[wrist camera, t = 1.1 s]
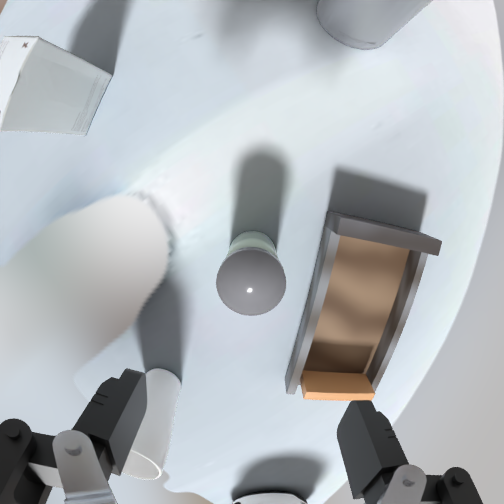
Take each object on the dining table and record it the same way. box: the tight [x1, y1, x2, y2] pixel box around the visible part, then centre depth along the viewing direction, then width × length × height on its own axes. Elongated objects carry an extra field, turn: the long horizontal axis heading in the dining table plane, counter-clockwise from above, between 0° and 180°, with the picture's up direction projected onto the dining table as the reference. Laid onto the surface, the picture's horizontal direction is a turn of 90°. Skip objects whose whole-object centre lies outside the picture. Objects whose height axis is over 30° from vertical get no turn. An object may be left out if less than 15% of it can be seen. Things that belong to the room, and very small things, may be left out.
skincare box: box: [0, 36, 112, 136], centre depth 19 cm, size 8×6×15 cm
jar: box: [216, 231, 286, 316], centre depth 27 cm, size 5×5×9 cm
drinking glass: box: [122, 368, 181, 480], centre depth 29 cm, size 7×7×15 cm
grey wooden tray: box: [285, 211, 442, 394], centre depth 30 cm, size 22×12×5 cm, turn 170°
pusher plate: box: [300, 370, 375, 401], centre depth 32 cm, size 1×9×4 cm, turn 80°
